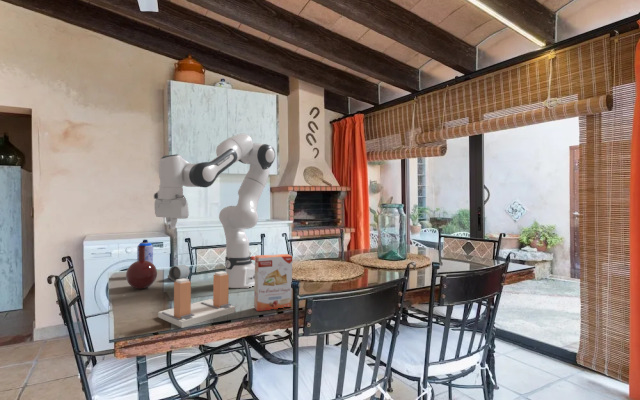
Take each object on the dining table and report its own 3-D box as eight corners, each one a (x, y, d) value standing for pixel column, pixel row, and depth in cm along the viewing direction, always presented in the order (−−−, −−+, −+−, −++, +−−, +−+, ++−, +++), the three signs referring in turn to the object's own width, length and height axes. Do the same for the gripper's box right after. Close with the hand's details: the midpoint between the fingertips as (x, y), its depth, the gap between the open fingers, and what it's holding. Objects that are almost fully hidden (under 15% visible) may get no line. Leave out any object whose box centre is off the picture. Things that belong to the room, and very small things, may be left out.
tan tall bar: (222, 303, 143) (222, 271, 143) (228, 305, 140) (228, 272, 140) (213, 305, 140) (213, 272, 139) (219, 308, 137) (219, 274, 137)
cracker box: (257, 312, 139) (258, 257, 139) (253, 307, 145) (254, 255, 144) (292, 308, 145) (292, 255, 145) (287, 303, 150) (288, 253, 150)
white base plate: (210, 303, 149) (210, 296, 149) (235, 312, 139) (235, 304, 139) (158, 317, 132) (158, 309, 132) (182, 327, 122) (182, 318, 122)
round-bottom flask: (137, 293, 163) (137, 248, 163) (119, 289, 170) (119, 246, 169) (163, 287, 175) (163, 245, 174) (145, 283, 181) (145, 243, 181)
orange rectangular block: (184, 313, 130) (184, 277, 130) (190, 316, 128) (190, 279, 128) (173, 316, 127) (174, 279, 127) (180, 319, 125) (180, 281, 125)
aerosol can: (140, 275, 199) (140, 238, 198) (155, 275, 200) (155, 238, 199) (134, 278, 191) (134, 240, 191) (150, 278, 192) (150, 240, 192)
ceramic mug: (191, 278, 194) (190, 263, 194) (180, 281, 186) (180, 266, 186) (174, 277, 197) (174, 262, 197) (163, 280, 189) (163, 265, 189)
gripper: (192, 194, 143) (192, 230, 143) (166, 194, 156) (166, 227, 156) (177, 194, 138) (177, 231, 138) (151, 194, 151) (151, 228, 151)
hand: (171, 229), depth 147 cm, fingers closed
